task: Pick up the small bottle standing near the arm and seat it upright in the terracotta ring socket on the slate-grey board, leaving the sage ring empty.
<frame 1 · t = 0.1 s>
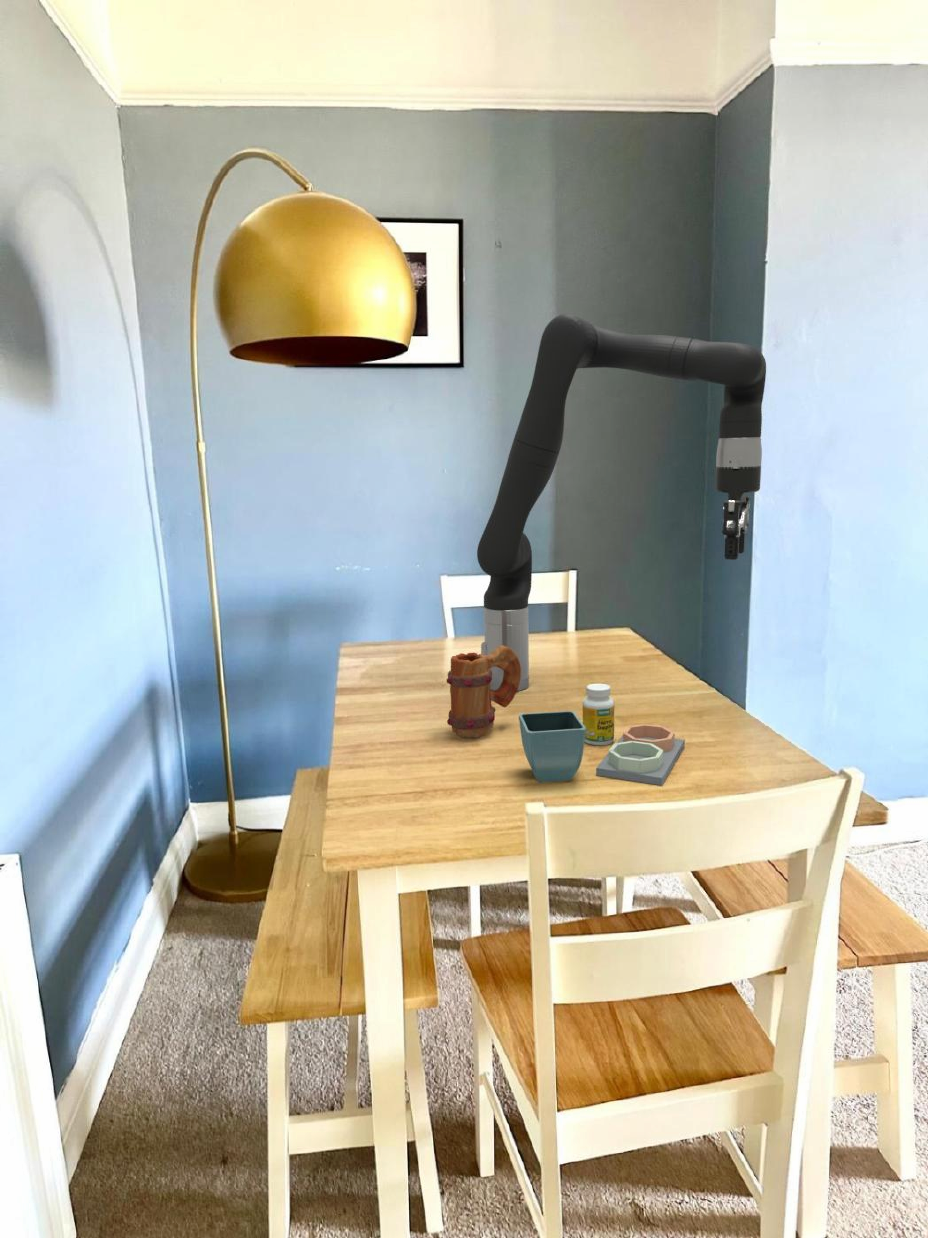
hand: (734, 556, 143), 29 cm above the table, fingers open, 8 cm apart
flower pot: (551, 777, 121), on the table
mug: (484, 732, 141), on the table
supplement bottle: (598, 741, 135), on the table
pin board: (642, 760, 126), on the table
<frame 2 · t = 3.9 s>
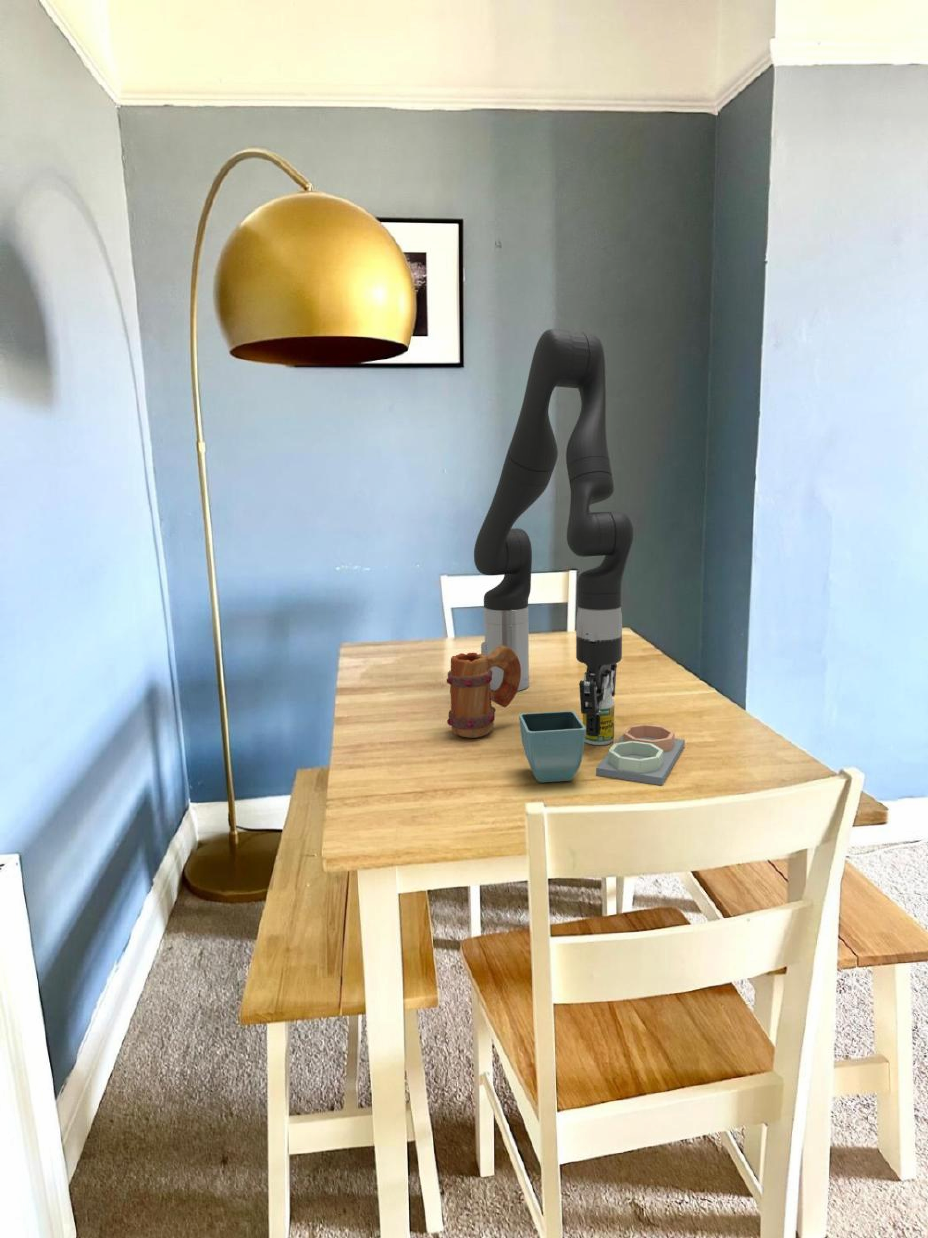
hand: (598, 729, 135), 2 cm above the table, fingers closed on supplement bottle, 5 cm apart
supplement bottle: (598, 741, 135), on the table, touching gripper
everything else where it was.
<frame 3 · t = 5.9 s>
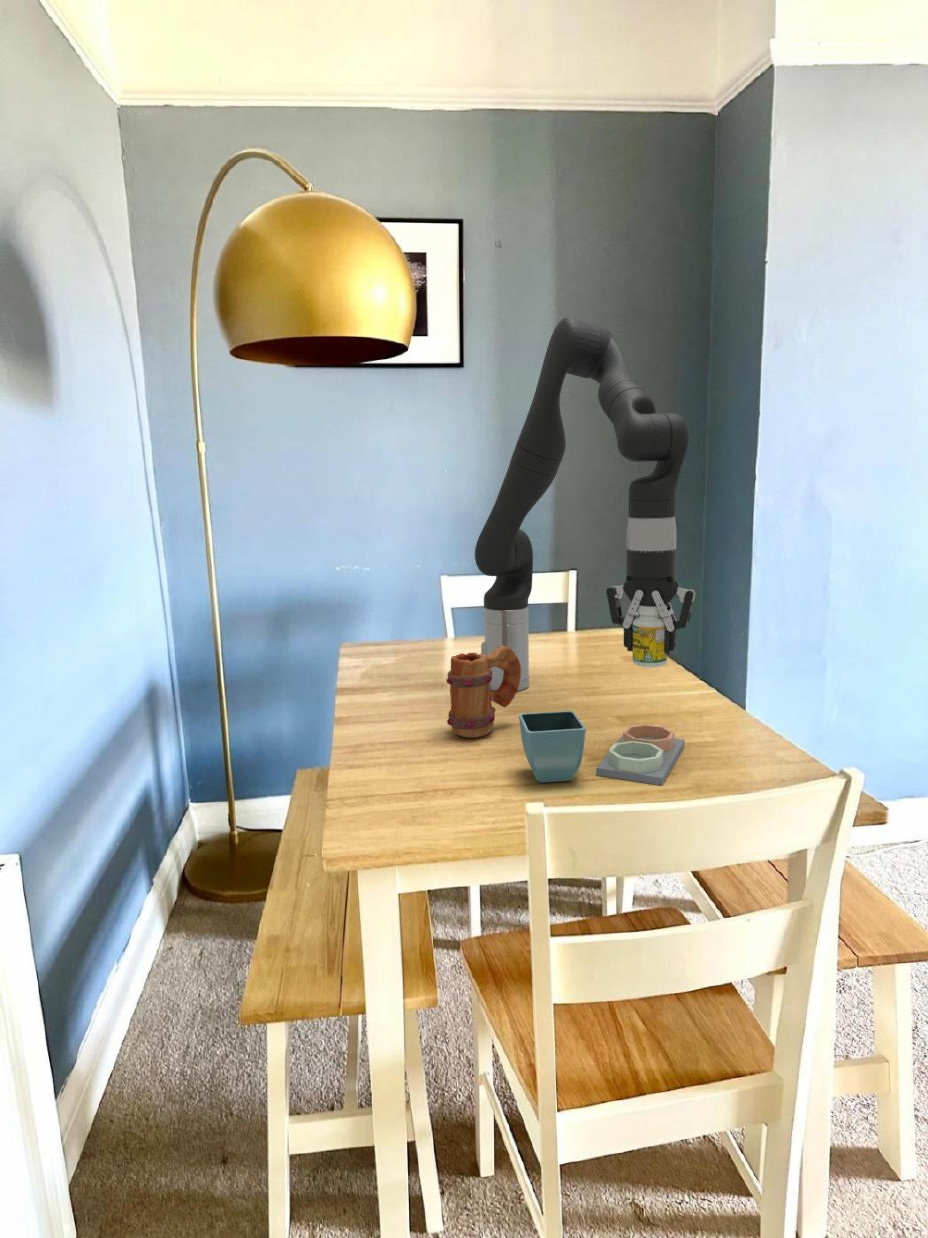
hand: (649, 651, 126), 17 cm above the table, fingers closed on supplement bottle, 5 cm apart
supplement bottle: (649, 664, 127), point 15 cm above the table, touching gripper
everything else where it was.
when the fingers open (4 cm above the table, at t = 8.0 s): supplement bottle drops 1 cm, resting on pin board.
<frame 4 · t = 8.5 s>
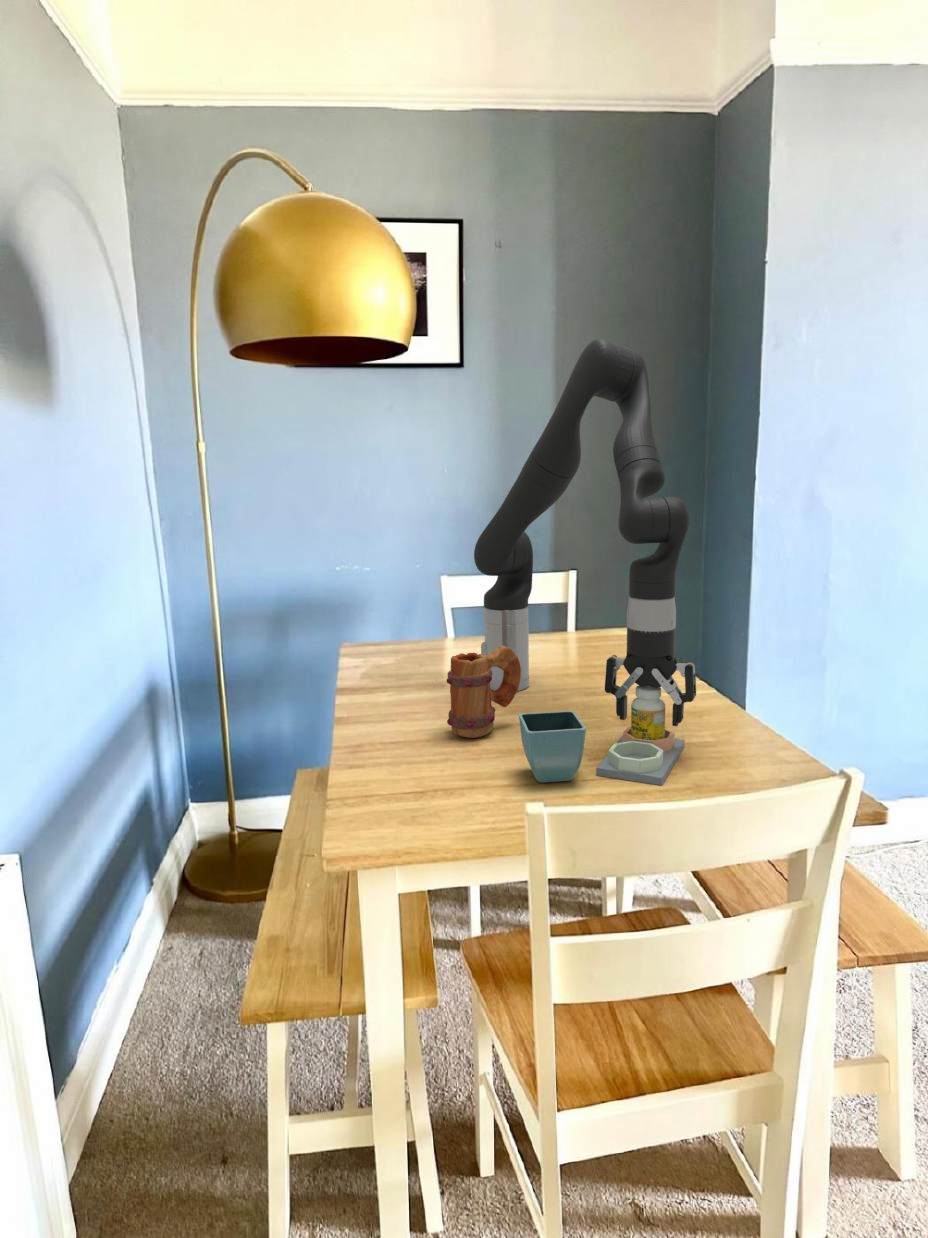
hand: (649, 721, 129), 5 cm above the table, fingers open, 8 cm apart
supplement bottle: (647, 745, 130), point 1 cm above the table, touching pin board
everything else where it was.
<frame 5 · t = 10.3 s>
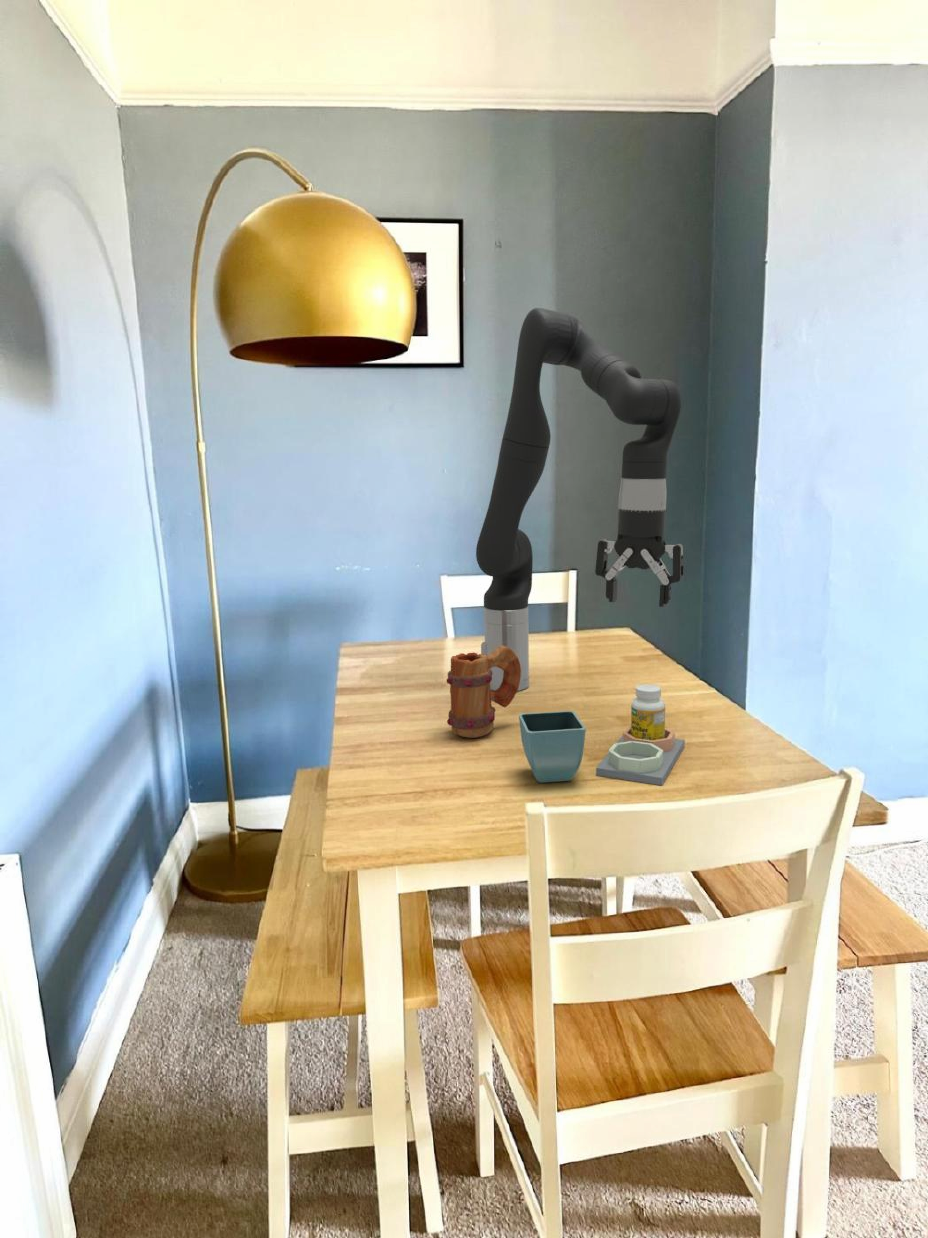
hand: (637, 603, 132), 23 cm above the table, fingers open, 8 cm apart
nothing on the table moved.
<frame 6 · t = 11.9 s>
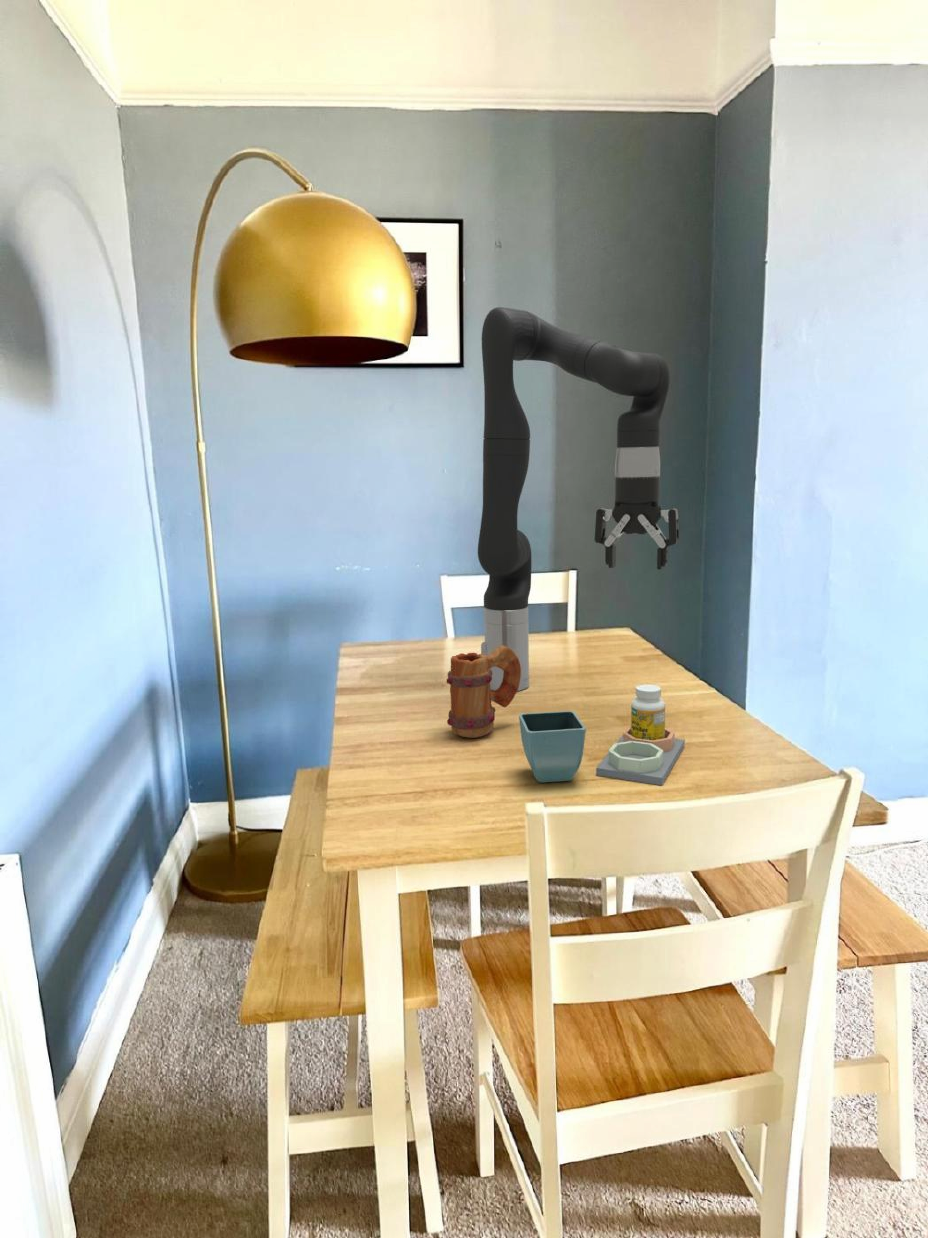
hand: (635, 568, 139), 28 cm above the table, fingers open, 8 cm apart
nothing on the table moved.
at the end: supplement bottle 0.2 cm from the target spot on the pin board, point 1.0 cm above the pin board's base; supplement bottle tilted 0°; the gripper is holding nothing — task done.
